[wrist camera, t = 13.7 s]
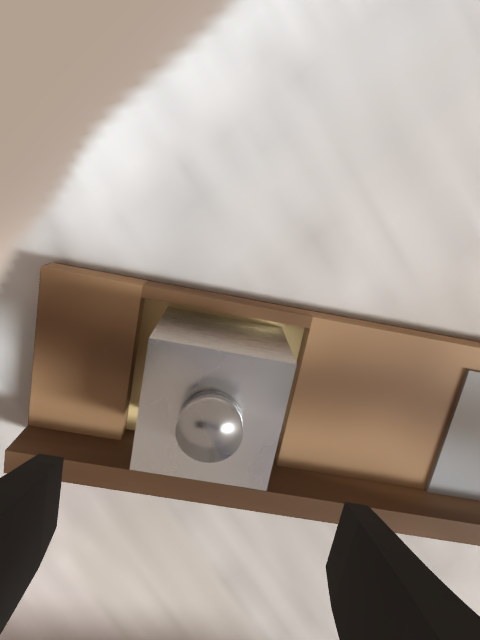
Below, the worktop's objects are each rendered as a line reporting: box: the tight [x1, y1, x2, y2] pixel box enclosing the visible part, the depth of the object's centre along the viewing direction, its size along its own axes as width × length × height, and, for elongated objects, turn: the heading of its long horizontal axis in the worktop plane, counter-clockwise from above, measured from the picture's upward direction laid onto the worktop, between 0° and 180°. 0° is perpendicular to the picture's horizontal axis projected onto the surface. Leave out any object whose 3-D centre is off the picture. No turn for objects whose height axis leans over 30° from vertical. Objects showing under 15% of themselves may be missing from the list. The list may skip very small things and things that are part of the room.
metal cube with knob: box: [130, 307, 297, 491], centre depth 17 cm, size 5×5×6 cm
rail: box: [4, 263, 480, 546], centre depth 19 cm, size 8×24×3 cm, turn 79°
